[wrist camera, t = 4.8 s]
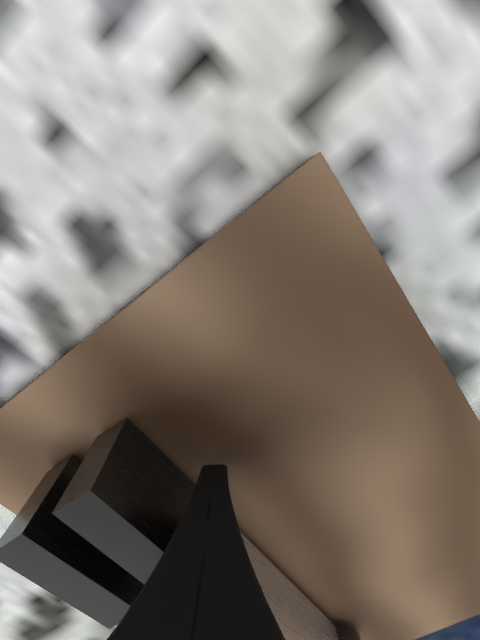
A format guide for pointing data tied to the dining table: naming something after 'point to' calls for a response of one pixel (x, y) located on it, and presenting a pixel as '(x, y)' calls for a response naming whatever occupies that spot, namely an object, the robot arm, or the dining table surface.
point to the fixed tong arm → (66, 554)
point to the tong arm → (163, 522)
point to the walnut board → (288, 410)
